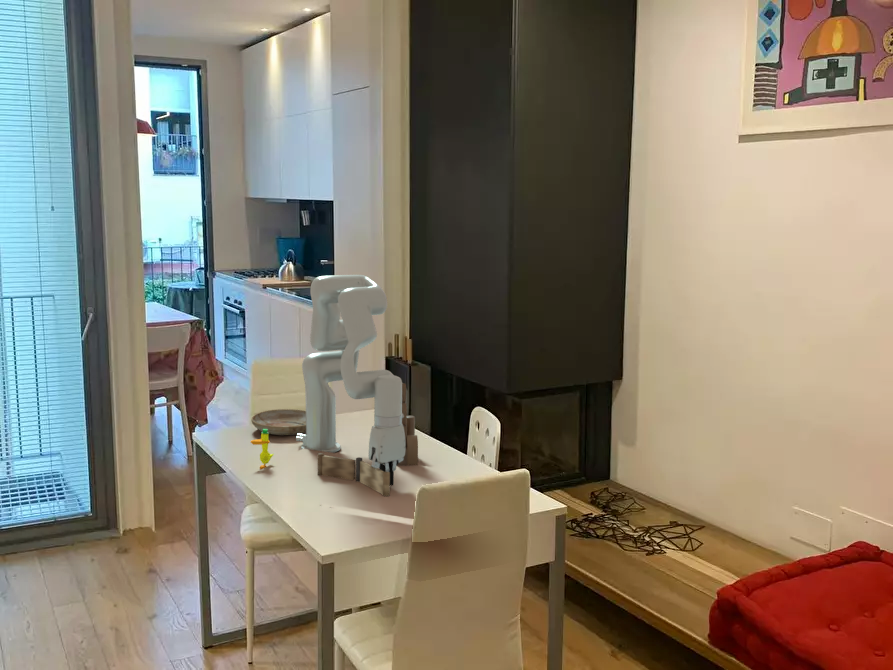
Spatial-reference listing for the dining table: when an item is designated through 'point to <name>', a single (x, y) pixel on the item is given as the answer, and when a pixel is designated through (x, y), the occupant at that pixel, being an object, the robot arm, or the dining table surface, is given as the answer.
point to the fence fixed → (338, 467)
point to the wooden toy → (409, 434)
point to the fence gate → (375, 478)
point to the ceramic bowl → (281, 421)
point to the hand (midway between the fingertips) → (387, 484)
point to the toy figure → (263, 448)
